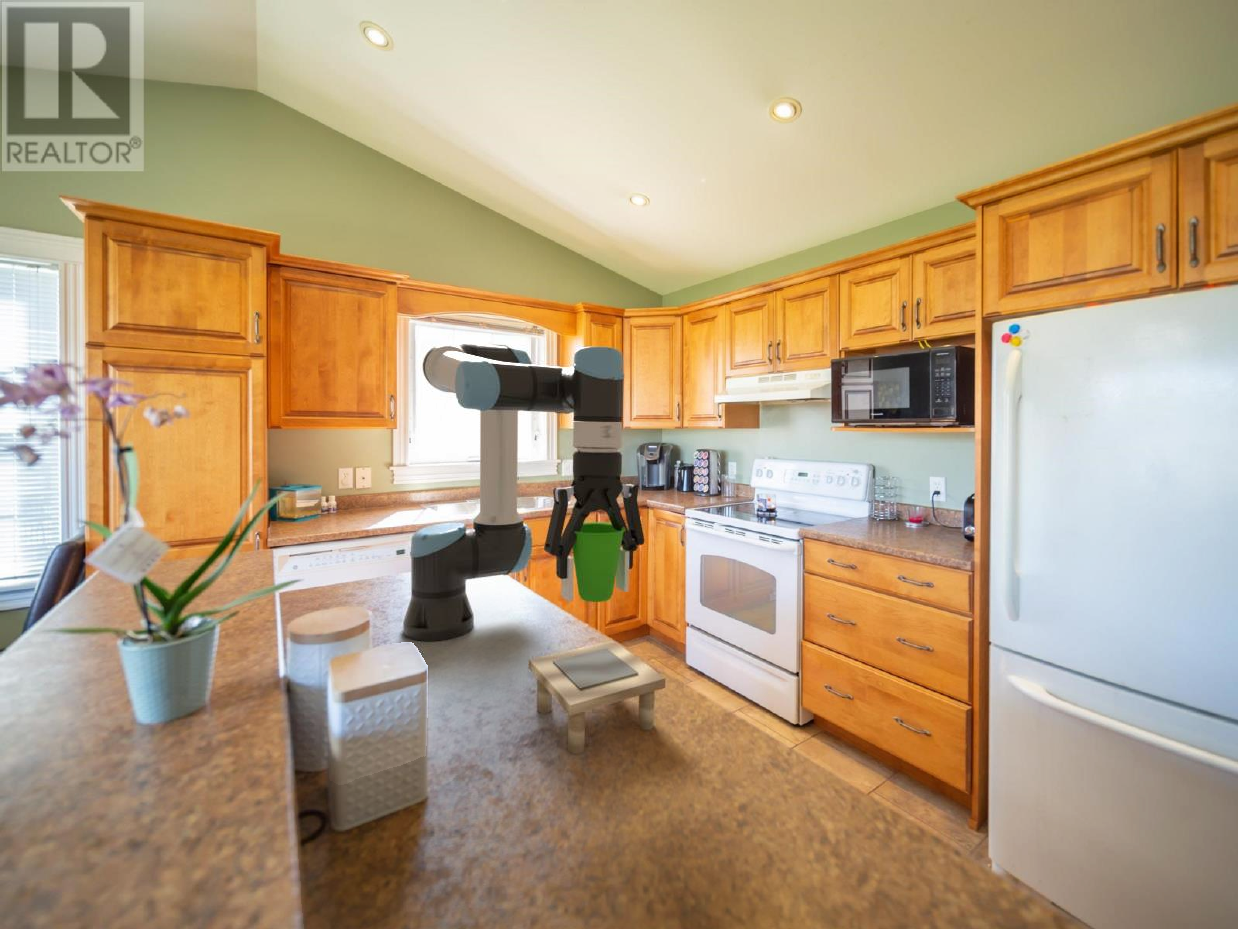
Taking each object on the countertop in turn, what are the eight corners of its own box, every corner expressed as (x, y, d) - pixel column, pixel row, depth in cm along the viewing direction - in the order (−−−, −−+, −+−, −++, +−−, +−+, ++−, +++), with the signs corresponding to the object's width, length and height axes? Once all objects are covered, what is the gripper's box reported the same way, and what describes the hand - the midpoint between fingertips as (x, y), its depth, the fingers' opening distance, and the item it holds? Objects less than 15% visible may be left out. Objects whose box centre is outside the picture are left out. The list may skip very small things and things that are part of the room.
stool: (528, 706, 85) (528, 657, 84) (612, 683, 93) (613, 638, 92) (569, 761, 71) (570, 703, 70) (664, 728, 79) (665, 676, 79)
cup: (618, 609, 75) (619, 534, 74) (558, 604, 77) (559, 531, 76) (629, 590, 84) (630, 523, 83) (575, 586, 86) (576, 520, 85)
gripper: (540, 452, 70) (539, 613, 72) (669, 450, 81) (666, 590, 83) (521, 449, 77) (520, 597, 78) (643, 448, 88) (640, 578, 89)
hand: (595, 593), depth 81 cm, fingers closed on cup, 9 cm apart
